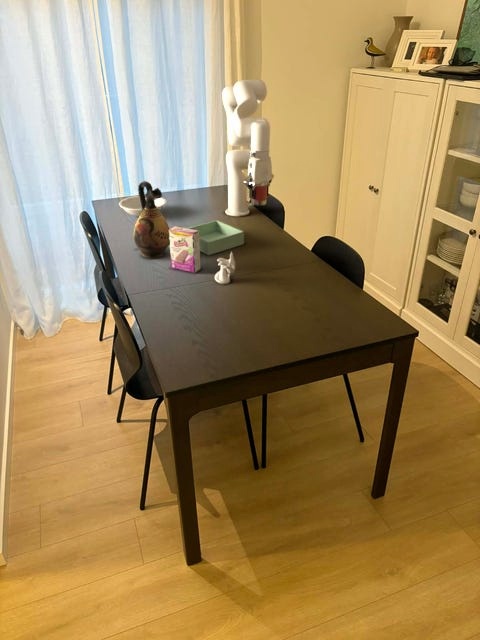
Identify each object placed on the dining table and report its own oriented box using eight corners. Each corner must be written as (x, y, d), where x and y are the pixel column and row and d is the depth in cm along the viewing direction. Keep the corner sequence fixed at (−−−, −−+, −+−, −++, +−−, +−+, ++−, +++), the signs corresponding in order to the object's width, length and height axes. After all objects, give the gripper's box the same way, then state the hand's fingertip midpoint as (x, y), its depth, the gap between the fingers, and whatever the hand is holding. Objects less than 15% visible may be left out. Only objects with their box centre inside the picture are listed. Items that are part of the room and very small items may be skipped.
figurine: (211, 279, 188) (210, 249, 182) (229, 274, 191) (229, 246, 185) (224, 290, 180) (224, 260, 174) (242, 286, 183) (243, 256, 177)
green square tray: (217, 231, 231) (216, 220, 228) (243, 244, 218) (244, 231, 215) (182, 241, 220) (181, 229, 218) (208, 255, 208) (208, 242, 205)
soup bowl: (177, 212, 255) (176, 200, 252) (146, 226, 238) (144, 212, 234) (142, 204, 266) (141, 192, 263) (110, 217, 249) (108, 204, 246)
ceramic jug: (179, 253, 209) (175, 183, 194) (150, 264, 199) (143, 191, 184) (154, 243, 219) (148, 175, 204) (125, 253, 209) (117, 182, 194)
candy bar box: (170, 268, 196) (167, 229, 187) (177, 264, 200) (174, 225, 191) (195, 273, 192) (193, 234, 183) (201, 269, 196) (199, 229, 187)
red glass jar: (259, 199, 215) (259, 176, 210) (269, 203, 211) (270, 180, 205) (247, 202, 211) (248, 179, 206) (258, 206, 207) (258, 182, 202)
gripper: (250, 159, 193) (249, 203, 202) (281, 152, 202) (279, 195, 212) (237, 155, 198) (237, 198, 207) (269, 149, 207) (267, 191, 217)
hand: (258, 196), depth 209 cm, fingers closed on red glass jar, 6 cm apart
